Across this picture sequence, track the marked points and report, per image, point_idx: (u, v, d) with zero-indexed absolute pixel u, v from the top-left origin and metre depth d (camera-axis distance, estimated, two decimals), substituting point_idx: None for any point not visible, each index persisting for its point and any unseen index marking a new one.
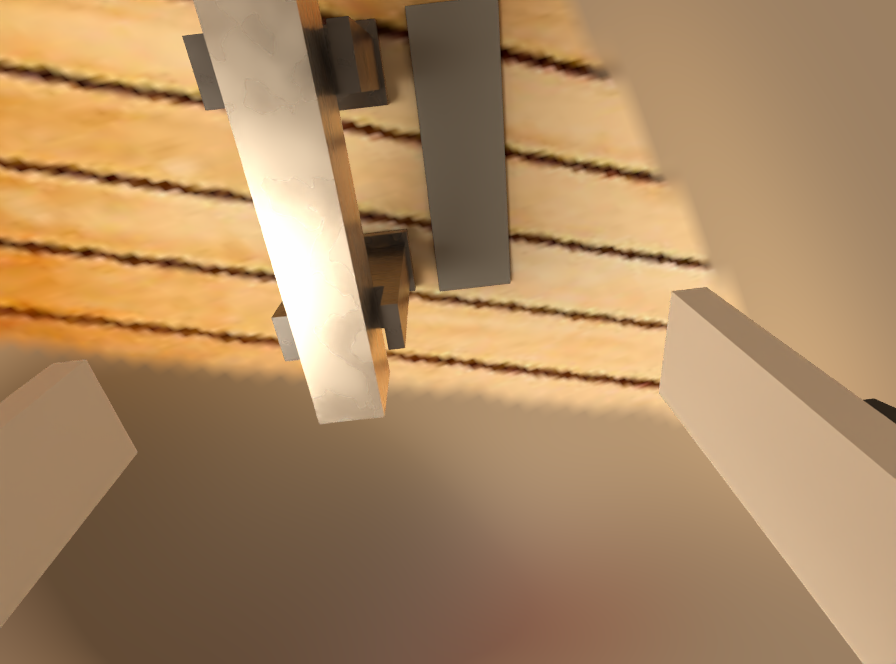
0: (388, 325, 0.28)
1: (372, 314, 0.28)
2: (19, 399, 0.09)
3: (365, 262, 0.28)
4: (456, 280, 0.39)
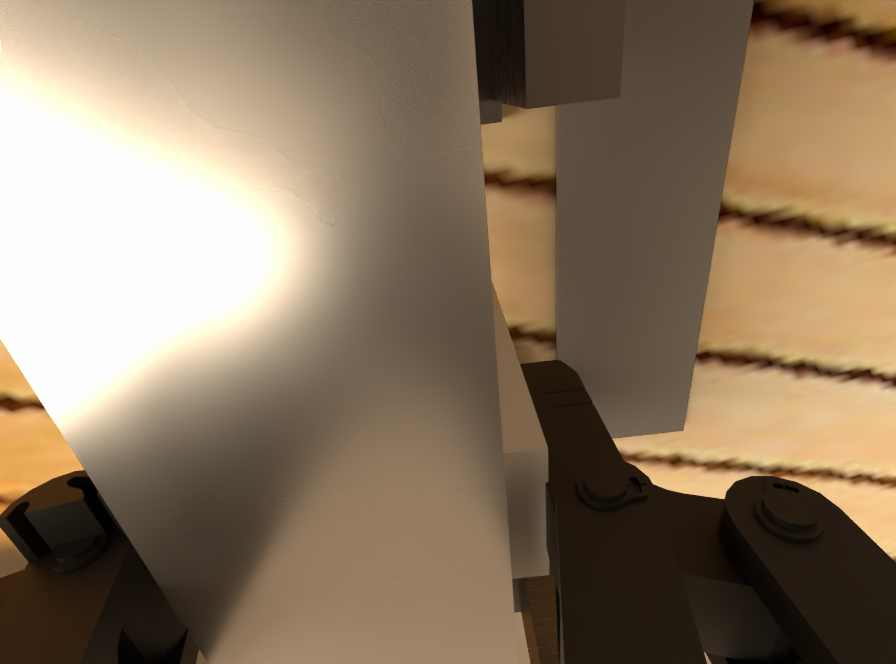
0: None
1: None
2: None
3: None
4: None
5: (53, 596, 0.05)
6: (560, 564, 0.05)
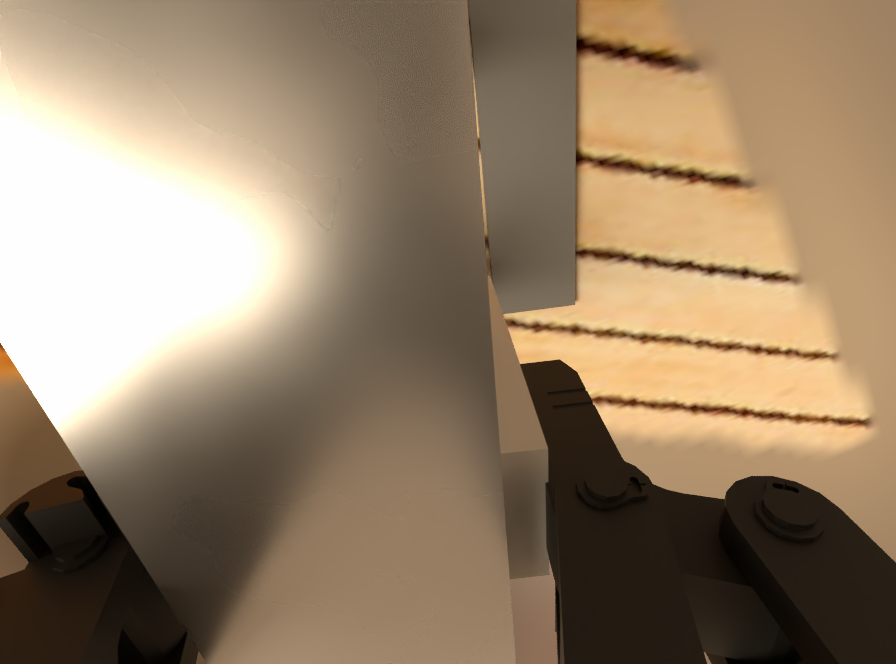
0: None
1: None
2: None
3: None
4: (514, 302, 0.35)
5: (53, 596, 0.05)
6: (560, 564, 0.05)
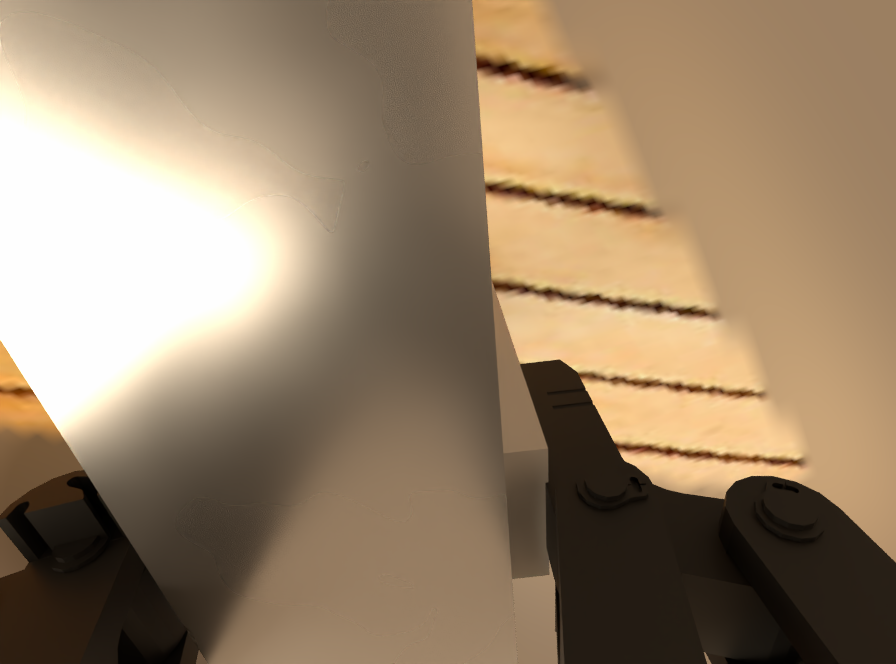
0: None
1: None
2: None
3: None
4: None
5: (53, 596, 0.05)
6: (560, 564, 0.05)
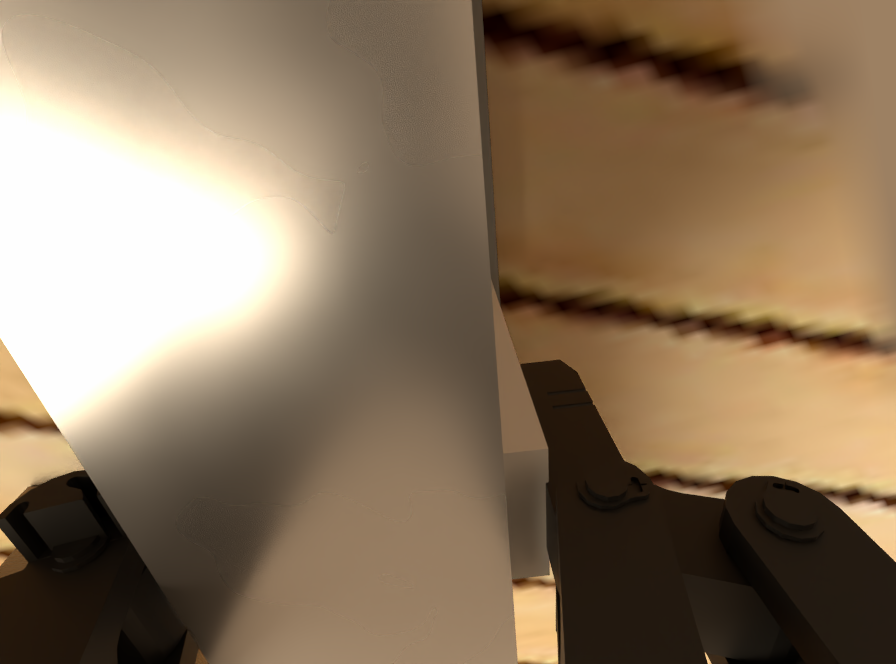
0: None
1: None
2: None
3: None
4: None
5: (52, 596, 0.05)
6: (561, 564, 0.05)
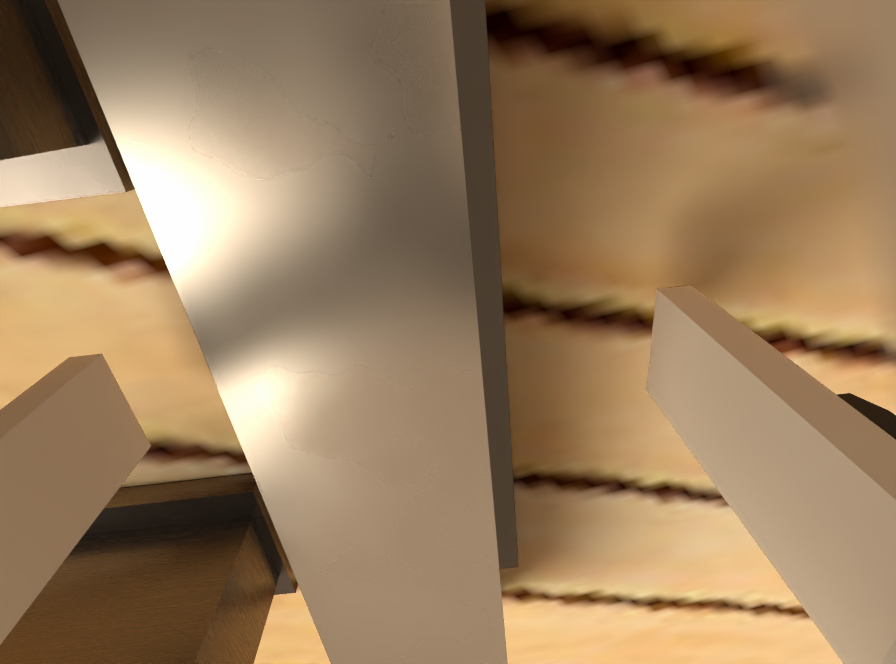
0: None
1: None
2: (38, 391, 0.09)
3: None
4: None
5: None
6: None
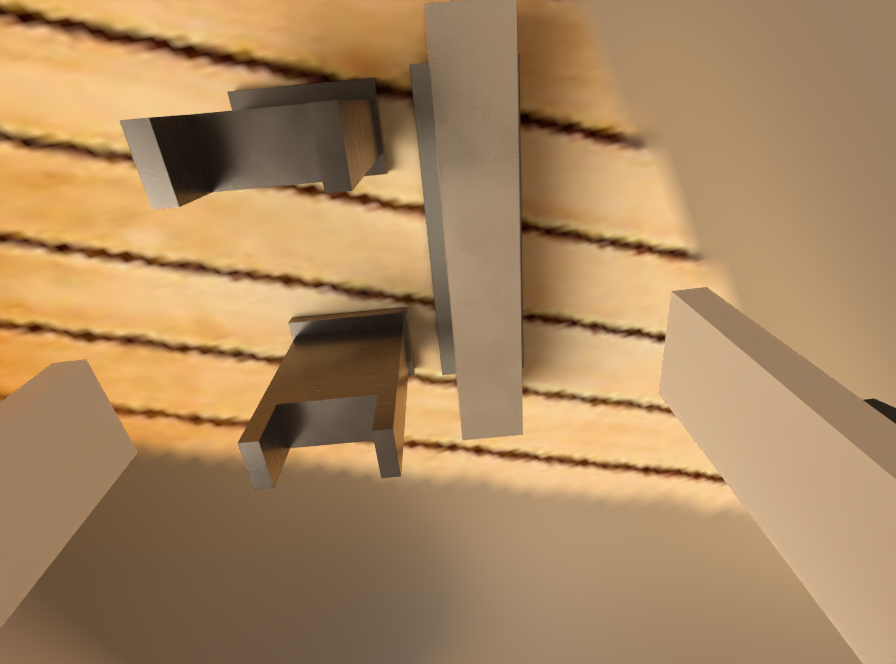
0: (381, 452, 0.23)
1: None
2: (19, 399, 0.09)
3: None
4: None
5: None
6: None
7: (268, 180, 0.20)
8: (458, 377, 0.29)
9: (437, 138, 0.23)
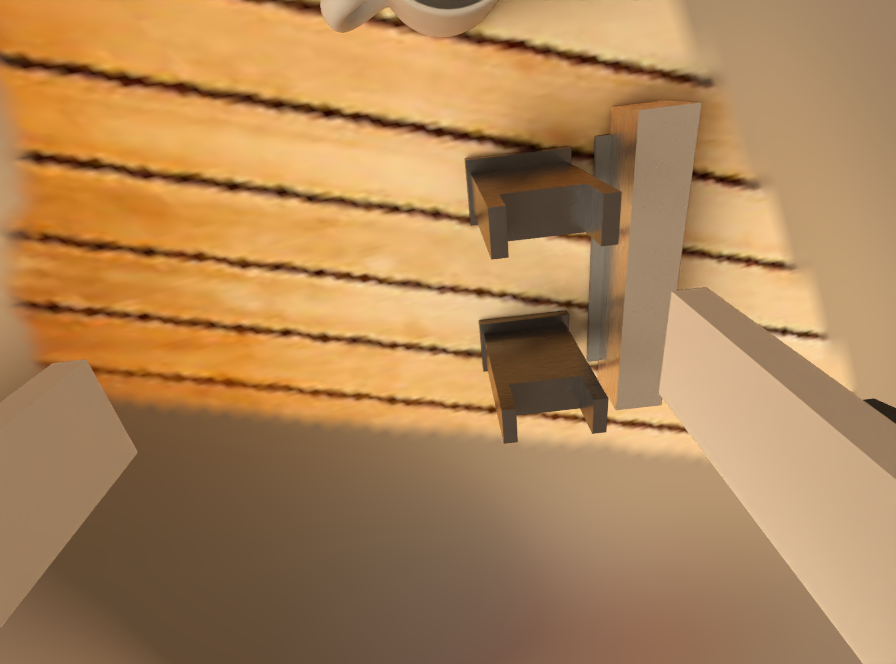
0: (596, 415, 0.33)
1: None
2: (19, 398, 0.09)
3: None
4: None
5: None
6: None
7: (539, 233, 0.30)
8: (620, 362, 0.39)
9: (633, 195, 0.32)
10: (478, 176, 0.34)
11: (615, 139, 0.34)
